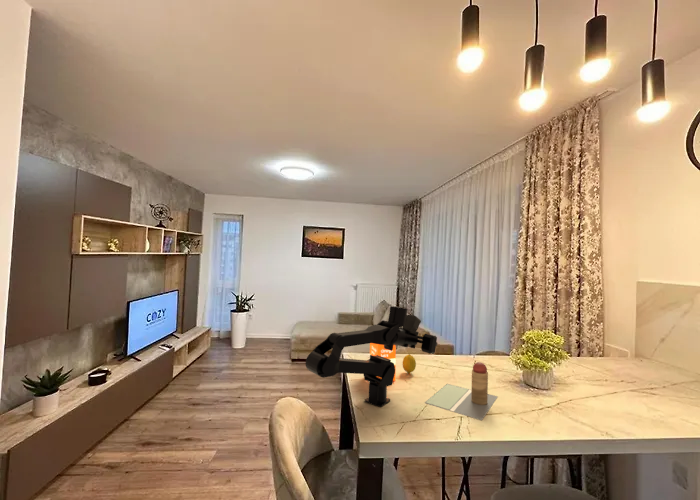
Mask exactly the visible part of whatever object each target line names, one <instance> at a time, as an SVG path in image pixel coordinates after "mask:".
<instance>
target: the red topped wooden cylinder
mask: <svg viewBox="0 0 700 500" xmlns="http://www.w3.org/2000/svg"><path fill="white" fill-rule="evenodd" d="M472 365H473V366H472V369H471V390H472V391H471V401H472V402H473V403H475V404H478V405H487V399H488V394H489V391H488V390H489V387H488V386H489V385H488V384H489V382H488V381H489V372H488V369H487V365H486V364H484V363H483V362H482V361H481V362H480V361H479V362H475V363H474V364H472Z"/></svg>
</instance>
